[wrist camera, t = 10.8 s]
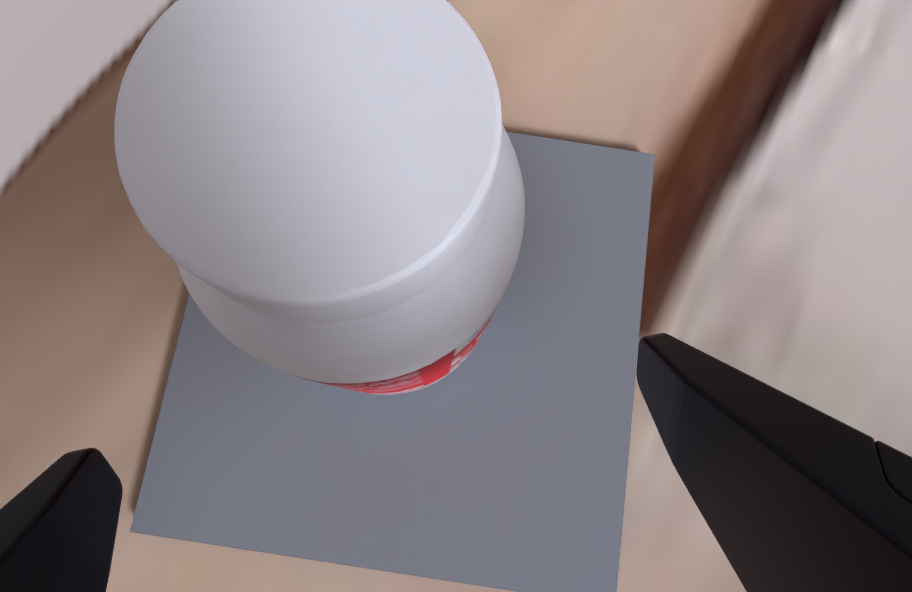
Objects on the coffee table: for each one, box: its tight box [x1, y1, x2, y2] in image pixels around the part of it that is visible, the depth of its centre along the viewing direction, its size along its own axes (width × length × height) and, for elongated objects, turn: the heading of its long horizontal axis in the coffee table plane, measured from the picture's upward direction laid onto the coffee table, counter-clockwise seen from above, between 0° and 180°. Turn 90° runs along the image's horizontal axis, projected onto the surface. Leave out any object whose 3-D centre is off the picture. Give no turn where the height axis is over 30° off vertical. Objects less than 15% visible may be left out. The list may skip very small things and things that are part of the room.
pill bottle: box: [114, 0, 525, 395], centre depth 12 cm, size 6×6×11 cm
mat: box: [130, 132, 655, 592], centre depth 18 cm, size 14×14×1 cm
